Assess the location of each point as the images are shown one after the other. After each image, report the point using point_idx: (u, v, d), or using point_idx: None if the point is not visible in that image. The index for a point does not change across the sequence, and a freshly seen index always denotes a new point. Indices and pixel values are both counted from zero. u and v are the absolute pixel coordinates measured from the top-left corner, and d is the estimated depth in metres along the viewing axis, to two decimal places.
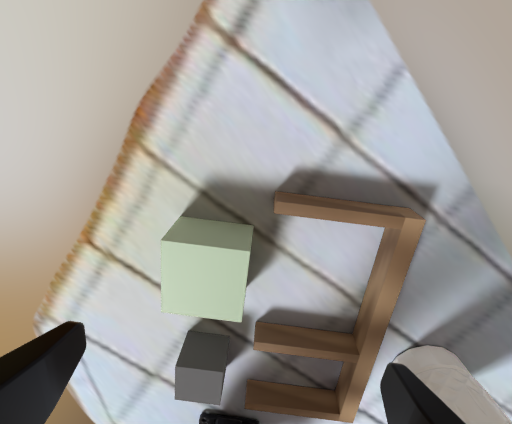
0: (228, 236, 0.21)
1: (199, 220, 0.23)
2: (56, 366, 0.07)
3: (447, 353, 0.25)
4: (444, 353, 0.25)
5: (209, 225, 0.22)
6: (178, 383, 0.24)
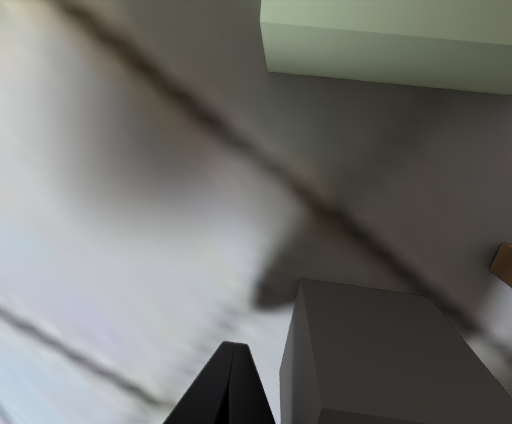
0: None
1: None
2: None
3: None
4: None
5: None
6: None
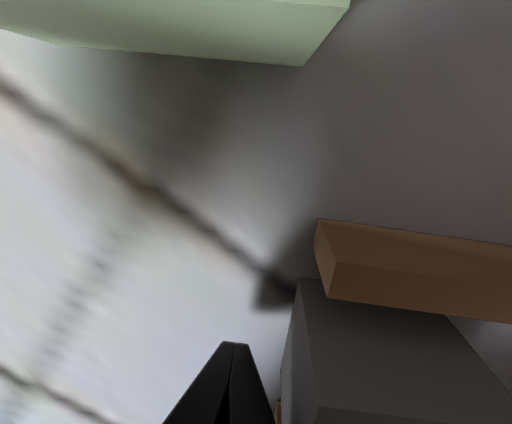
0: None
1: None
2: None
3: None
4: None
5: None
6: None
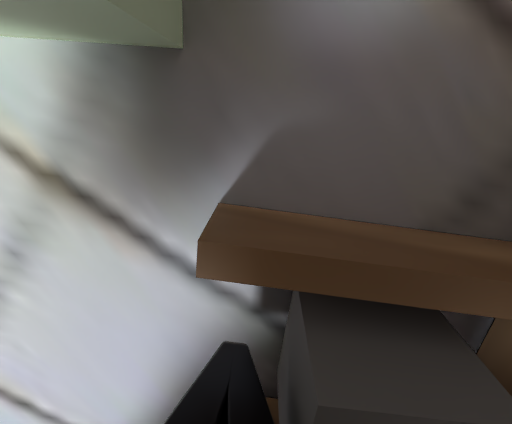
0: None
1: None
2: None
3: None
4: None
5: None
6: None
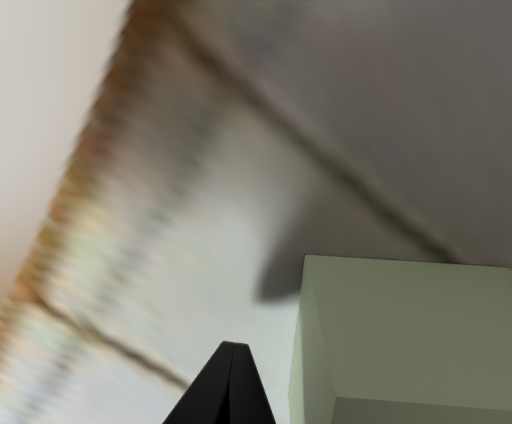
0: None
1: (364, 266, 0.08)
2: None
3: None
4: None
5: (409, 283, 0.07)
6: None
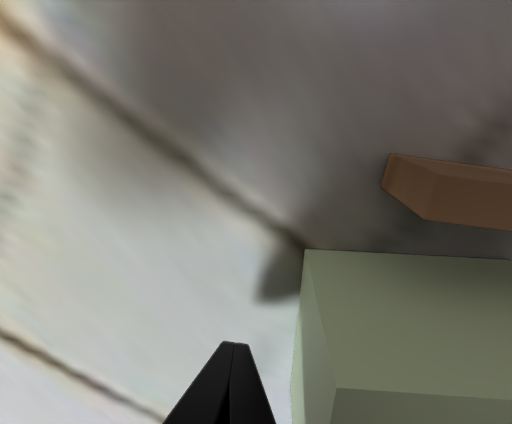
0: None
1: (365, 260, 0.08)
2: None
3: None
4: None
5: (410, 276, 0.07)
6: None
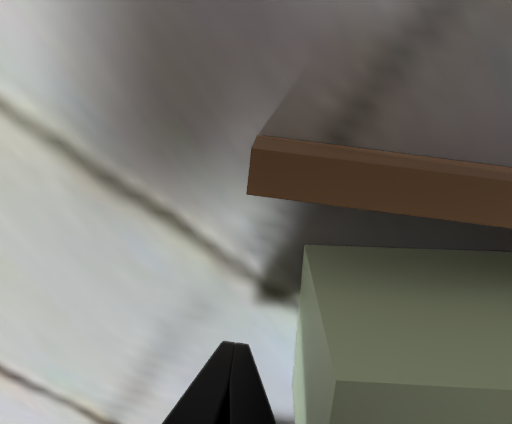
0: None
1: (364, 254, 0.08)
2: None
3: None
4: None
5: (410, 269, 0.07)
6: None
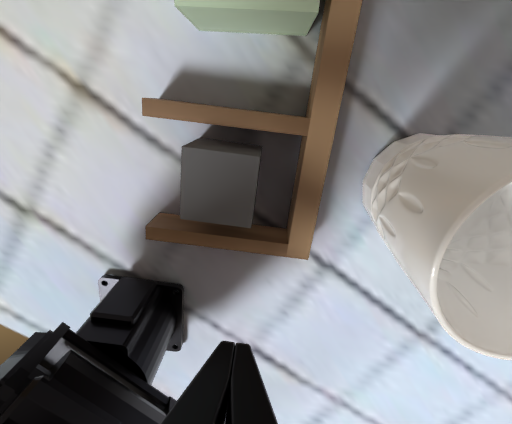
0: None
1: None
2: (228, 388, 0.07)
3: None
4: None
5: None
6: (186, 184, 0.15)
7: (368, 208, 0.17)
